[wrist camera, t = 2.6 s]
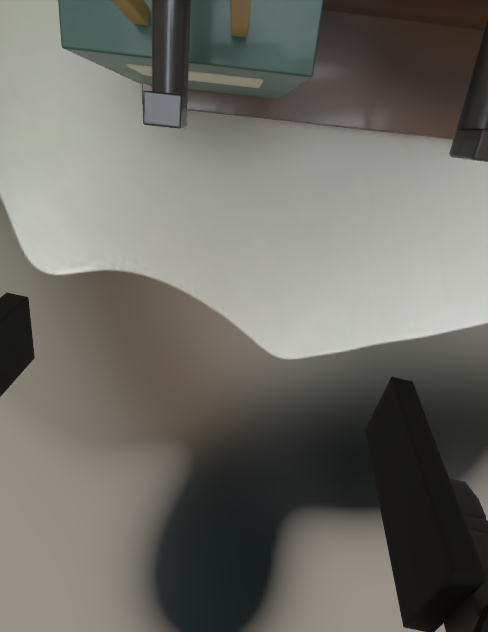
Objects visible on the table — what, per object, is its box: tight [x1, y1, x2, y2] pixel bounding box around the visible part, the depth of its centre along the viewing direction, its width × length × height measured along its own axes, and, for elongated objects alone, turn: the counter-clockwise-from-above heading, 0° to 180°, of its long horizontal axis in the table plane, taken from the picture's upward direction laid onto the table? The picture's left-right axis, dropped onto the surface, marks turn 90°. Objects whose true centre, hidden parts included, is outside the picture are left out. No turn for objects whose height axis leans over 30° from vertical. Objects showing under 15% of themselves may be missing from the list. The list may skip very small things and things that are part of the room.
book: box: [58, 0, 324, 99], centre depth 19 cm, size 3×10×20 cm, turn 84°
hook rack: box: [142, 0, 488, 162], centre depth 19 cm, size 10×28×26 cm, turn 84°
